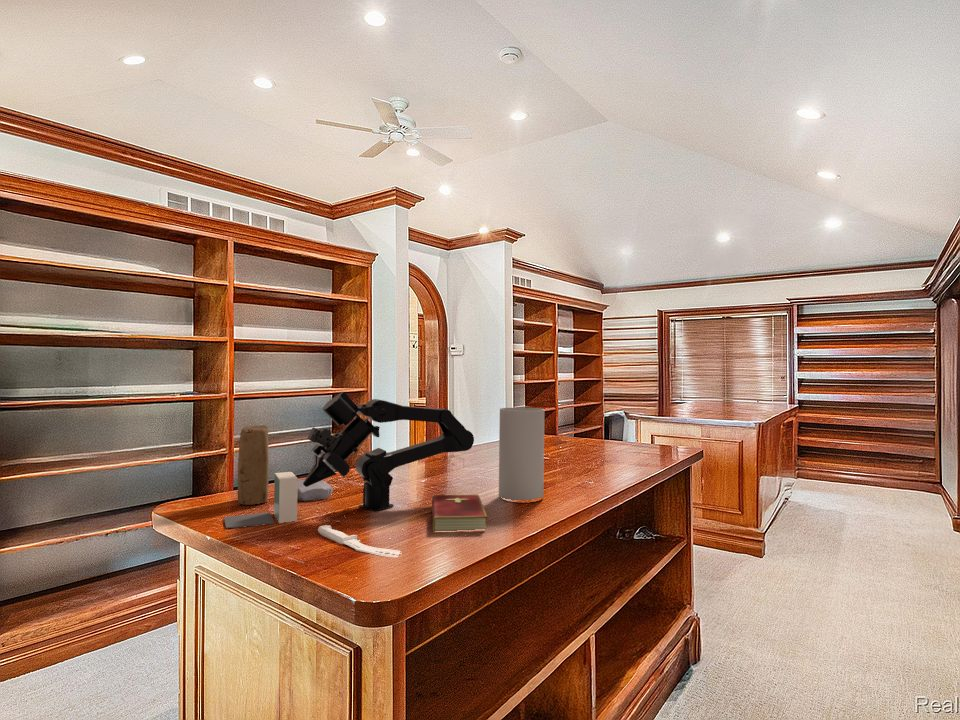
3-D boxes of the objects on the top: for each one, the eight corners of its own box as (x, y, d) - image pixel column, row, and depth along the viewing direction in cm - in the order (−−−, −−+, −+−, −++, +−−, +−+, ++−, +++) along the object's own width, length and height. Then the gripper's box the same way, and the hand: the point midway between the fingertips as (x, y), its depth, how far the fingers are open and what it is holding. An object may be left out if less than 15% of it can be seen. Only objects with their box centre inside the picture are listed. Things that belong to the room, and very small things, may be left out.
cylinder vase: (498, 493, 159) (499, 407, 159) (541, 494, 158) (542, 407, 159) (498, 503, 146) (499, 410, 147) (545, 504, 146) (546, 411, 146)
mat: (269, 513, 133) (269, 512, 133) (274, 523, 125) (274, 522, 125) (224, 518, 128) (224, 516, 128) (225, 529, 120) (226, 527, 120)
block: (267, 505, 141) (268, 428, 142) (235, 507, 139) (237, 428, 139) (269, 496, 151) (270, 424, 152) (240, 497, 149) (241, 424, 149)
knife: (434, 557, 102) (401, 567, 97) (434, 566, 102) (401, 576, 97) (347, 519, 123) (316, 525, 118) (347, 527, 123) (315, 533, 118)
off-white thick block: (291, 512, 135) (291, 471, 135) (296, 521, 127) (297, 478, 127) (273, 514, 133) (274, 472, 133) (278, 523, 125) (279, 479, 125)
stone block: (326, 496, 160) (291, 492, 156) (330, 480, 160) (295, 476, 156) (334, 507, 149) (296, 503, 145) (338, 490, 149) (301, 485, 145)
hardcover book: (432, 535, 119) (432, 516, 119) (431, 510, 140) (432, 494, 140) (487, 534, 120) (487, 515, 120) (478, 509, 141) (478, 493, 141)
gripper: (320, 413, 143) (275, 457, 138) (337, 419, 127) (286, 469, 121) (349, 441, 147) (306, 486, 141) (369, 451, 130) (321, 502, 125)
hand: (304, 485), depth 132 cm, fingers closed
